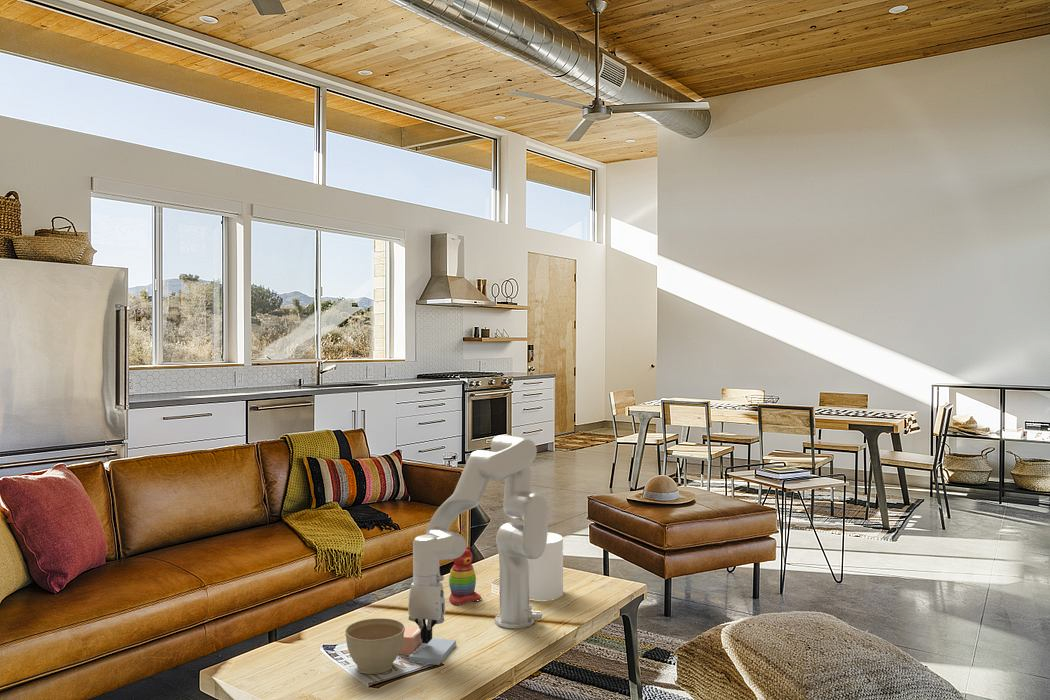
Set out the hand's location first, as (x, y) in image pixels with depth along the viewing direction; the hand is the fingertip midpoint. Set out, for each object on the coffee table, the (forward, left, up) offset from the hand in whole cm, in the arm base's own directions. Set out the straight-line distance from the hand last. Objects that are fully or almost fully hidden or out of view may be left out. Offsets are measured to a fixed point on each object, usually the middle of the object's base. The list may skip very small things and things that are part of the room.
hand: (426, 641), depth 219 cm
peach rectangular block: (+5, 0, -3) cm, 6 cm away
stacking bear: (+4, -44, -3) cm, 44 cm away
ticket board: (-2, +1, -3) cm, 4 cm away
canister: (-21, -56, -3) cm, 60 cm away
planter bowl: (+10, +13, -3) cm, 17 cm away
